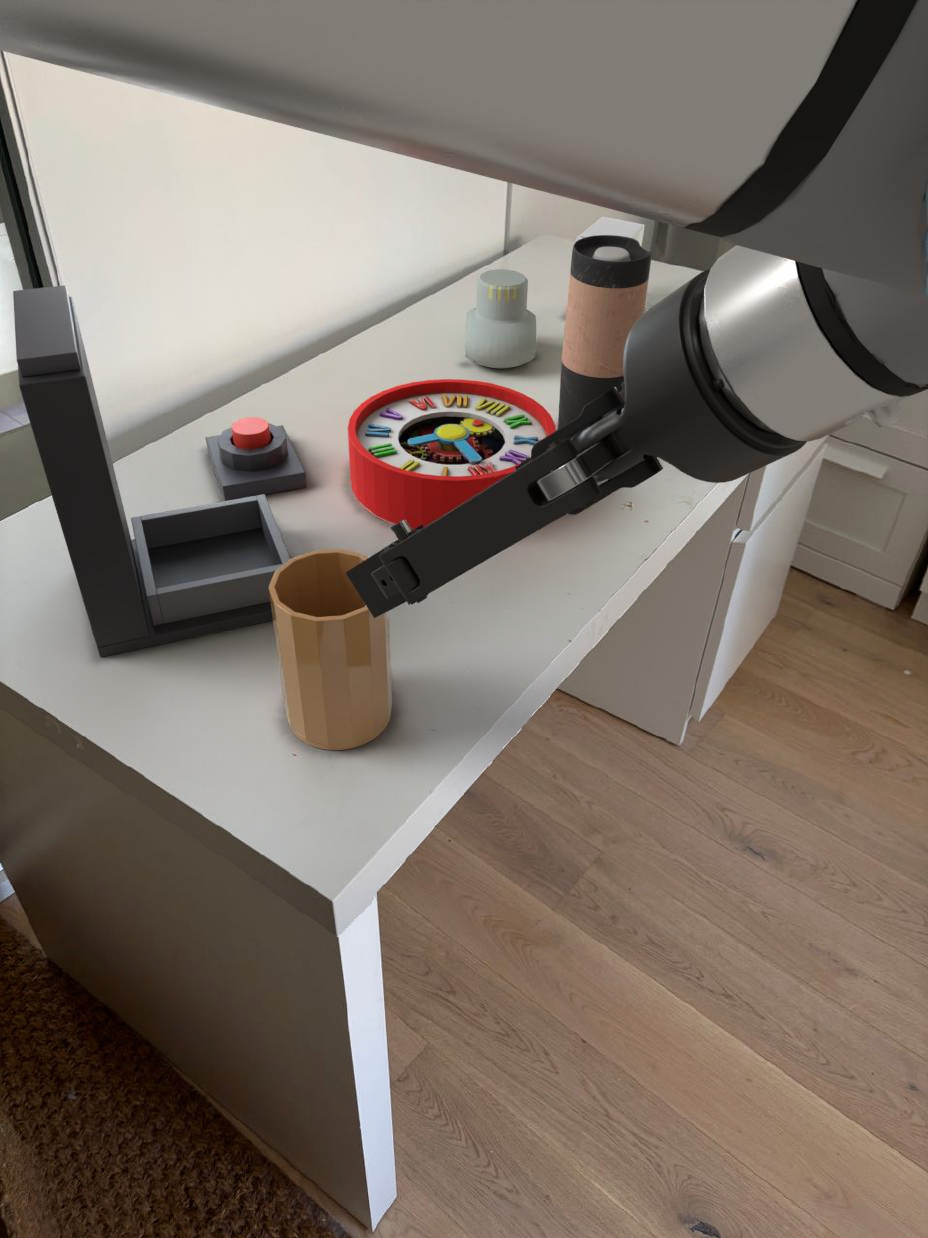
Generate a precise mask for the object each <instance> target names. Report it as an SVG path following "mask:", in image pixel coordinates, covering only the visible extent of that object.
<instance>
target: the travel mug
mask: <svg viewBox="0 0 928 1238" xmlns="http://www.w3.org/2000/svg"><path fill="white" fill-rule="evenodd" d="M571 251H572V252H571V261H570V271H569V281H568V291H567V301H566V312H565V313H566V314H565V321H564V322H565V323H564V332H563V334H564V335H563V343H562V352H561V362H560V364H561V365H560V366H561V367H560V380H559V381H560V383H559V401H558V417H557V419H558V420H557V423H558V424H557V430H558V429H559V428H561V427H563V426H564V425H566V424H567V423H569V422H571V421H572V420H574V419H575V418H577V417H578V416H579V415H580V414H581V411H582V409H583V407H584V406H585V405H586V404H588V403H589V402H591V401H592V400H594V399H596V398H597V397H599V396H600V395H602V394H604V393H605V392H607V391H608V390H610V389H612V388H613V387H616V388H617V390H618V392H620V391H622V386H621V383H623V382H624V376H623V355H624V349H625V344H626V341H627V337H628V335H629V333H630V331H631V329H632V327H633V325H634V324H635V322H636V321H637V320H638V319H639V318H640V317H641V315H643V314H644V313H645V309H646V303H647V295H648V288H649V279H650V272H651V265H652V257H653V249H652V248H651V249H650V250H646V249H645V248H644V247H642V245H641V246H640V243H639V242H638V241H637V240H635V239H633V238H629V237H624V236H615V235H597V236H590V237H585V238H582V239H580V240H578V241H577V242H575V241H574V244H573V246H572V250H571Z"/></svg>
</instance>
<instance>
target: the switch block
mask: <svg viewBox="0 0 928 1238" xmlns="http://www.w3.org/2000/svg"><path fill="white" fill-rule="evenodd" d="M268 423H269V429H270V437H271V441H270V443H269V444H268V445H266V446H264V447H262V448H256V449H243V448H238V447H236V446H235V445H234V441H233V435H232V426H231V427H229V428H227V429H224V430H222V432H221V433H220V434H218V435H212V436H211V435H210V436H206V437H205V442H206V443H205V444H206V448H207V452H208V456H209V459H210V462H211V465H212V467H213V471H214V474H215V477H216V479H217V482H218V486H219V488H220V492H221V494H222V497H223V500H224V501H229V500H234V499H240V498H246V497H251V496H257V495H262V494H265V495H269V494H274V493H281V492H286V491H292V490H297V489H304V488H307V486H308V485H307V477H306V476H307V474H306V471H305V469H304V466H303V465H302V463H301V460H300V458H299V456H298V454H297V451H296V450H295V448H294V446H293V444H292V441H291V440H290V437H289V435H288V434H287V430H286V428H285V427H284V425H283V424H281V425H275V424H273V423H270V422H268Z"/></svg>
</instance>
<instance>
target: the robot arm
mask: <svg viewBox="0 0 928 1238" xmlns="http://www.w3.org/2000/svg"><path fill="white" fill-rule="evenodd" d="M0 51H1V52H5V53H8V54H12V55H16V56H20V57H24V58H28V59H32V60H35V61H39V62H44V63H47V64H51V65H55V66H59V67H63V68H66V69H70V70H74V71H79V72H82V73H85V74H89V75H93V76H98V77H100V78H106V79H109V80H111V81H117V82H121V83H124V84H127V85H132V86H135V87H139V88H144V89H148V90H151V91H155V92H159V93H163V94H167V95H171V96H175V97H178V98H183V99H185V100H189V101H194V102H198V103H202V104H205V105H209V106H213V107H217V108H221V109H225V110H227V111H228V110H229V111H232V112H236V113H240V114H244V115H247V116H251V117H255V118H259V119H262V120H267V121H271V122H274V123H278V124H282V125H286V126H289V127H293V128H296V129H301V130H305V131H309V132H313V133H317V134H320V135H324V136H329V137H332V138H336V139H340V140H343V141H347V142H350V143H351V142H352V143H355V144H358V145H363V146H367V147H370V148H374V149H377V150H381V151H385V152H388V153H389V152H390V153H393V154H397V155H401V156H404V157H409V158H411V159H412V158H413V159H416V160H421V161H424V162H428V163H432V164H436V165H440V166H443V167H448V168H451V169H455V170H459V171H463V172H466V173H471V174H474V175H478V176H482V177H485V178H489V179H493V180H496V181H497V180H498V181H501V182H504V183H508V184H512V185H516V186H521V187H523V188H528V189H532V190H535V191H540V192H543V193H548V194H551V195H554V196H559V197H563V198H567V199H571V200H574V201H578V202H582V203H586V204H590V205H594V206H597V207H601V208H605V209H608V210H613V211H617V212H619V213H624V214H627V215H632V216H635V217H640V218H643V219H646V220H647V219H648V220H651V221H654V222H659V223H662V224H666V225H670V226H675V227H677V228H681V229H684V230H685V229H686V230H689V231H693V232H697V233H701V234H705V235H708V236H711V237H714V238H716V239H719V240H721V241H724V242H727V243H729V244H732V245H734V246H733V247H732V248H730V249H729V250H728V251H726V252H724V253H723V254H722V255H721V256H719V257H718V258H717V259H716V261H715V262H714V263H713V265H712V266H711V268H710V269H709V268H708V269H706V270H704V271H701V272H700V273H698V274H697V275H696V276H694V277H693V278H691V279H690V280H689V281H687V282H685V283H684V284H683V285H681V286H680V287H678V288H677V289H676V290H674V291H673V292H672V293H670V294H669V295H667V296H666V297H664V298H662V300H660V301H658V302H657V303H656V304H654V305H653V306H652V307H650V308H649V309H648V310H646V311H644V314H643V315H641V317H640V318H639V319H638V320H637V321H636V322H635V324H634V325H633V327H632V329H631V331H630V333H629V335H628V337H627V341H626V344H625V349H624V355H623V376H624V382H623V383H621V386H622V391H620V392H618V390H617V388H616V387H613V388H612V389H610V390H608V391H607V392H605V393H604V394H602V395H600V396H599V397H597V398H596V399H594V400H592V401H591V402H589V403H588V404H586V405H585V406H584V407H583V409H582V411H581V414H580V415H579V416H578V417H577V418H575V419H574V420H572V421H571V422H569V423H567V424H566V425H564V426H563V427H561V428H559V429H558V428H557V429H556V431H555V432H553V433H552V434H550V435H548V436H547V437H545V438H544V439H542V440H540V441H539V442H537V443H536V444H535V445H534V446H533V448H532V450H531V457H530V458H529V459H527V460H526V461H524V462H522V463H521V464H519V465H518V466H516V467H515V468H516V470H515V471H514V472H512V473H510V474H509V475H507V476H506V477H504V478H502V479H501V480H499V481H498V482H496V483H494V484H493V485H491V486H489V487H488V488H486V489H485V490H483V491H481V492H480V493H478V494H477V495H475V496H473V497H472V498H470V499H469V500H467V501H465V502H464V503H462V504H461V505H459V506H457V507H456V508H454V509H453V510H451V511H449V512H448V513H446V514H445V515H443V516H441V517H440V518H438V519H437V520H435V521H433V522H432V523H430V524H429V525H427V526H425V527H423V525H420V526H419V527H417V528H415V529H414V530H412V529H411V528H410V526H409V524H408V523H407V521H406V520H405V519H404V520H402V521H400V522H399V523H397V524H395V525H391V527H390V529H391V531H392V532H393V534H394V535H395V537H396V539H395V541H393V542H391V543H389V544H388V545H387V546H385V547H383V548H382V549H380V550H379V551H377V552H375V553H374V554H372V555H371V556H369V557H368V559H366V560H365V561H363V562H361V563H360V564H358V565H357V566H355V567H353V568H352V569H350V570H349V571H347V572H345V573H346V574H347V576H348V578H349V579H350V581H351V582H352V584H353V585H354V587H355V589H356V590H357V592H358V593H359V595H360V596H361V598H362V600H363V601H364V603H365V604H366V606H367V608H368V609H369V611H370V612H371V614H372V615H373V617H374V618H376V617H378V616H380V615H382V614H384V613H385V612H387V611H389V612H390V611H391V610H394V609H395V608H397V607H399V606H401V605H403V604H405V603H406V604H408V605H411V606H412V605H414V604H416V603H417V604H420V603H421V602H423V601H425V600H426V599H427V598H428V596H429V594H431V593H433V592H434V591H436V590H438V589H439V588H441V587H443V586H445V585H446V584H448V583H449V582H451V581H453V580H455V579H457V578H459V577H460V576H463V574H465V573H467V572H469V571H470V570H472V569H474V568H476V567H477V566H479V565H481V564H483V563H484V562H486V561H488V560H489V559H491V558H493V557H494V556H496V555H498V554H500V553H502V552H503V551H505V550H507V549H508V548H511V547H512V546H514V545H515V544H517V543H519V542H520V541H522V540H524V539H526V538H528V537H529V536H531V535H533V534H534V533H536V532H537V531H540V530H541V529H543V528H545V527H546V526H548V525H550V524H551V523H553V522H555V521H557V520H559V519H561V518H563V517H565V516H567V515H569V516H574V515H579V514H580V513H582V512H583V511H586V510H587V509H589V508H590V507H592V506H593V505H595V504H597V503H599V502H600V501H602V500H604V499H605V498H607V497H609V496H610V495H612V494H614V493H615V492H617V491H618V490H621V489H623V488H626V489H632V488H635V487H637V486H640V484H642V483H644V482H646V481H647V480H649V479H650V478H652V477H653V476H655V475H657V474H658V473H660V472H661V471H662V470H664V467H663V465H662V463H661V461H660V460H662V461H663V462H666V463H667V464H669V465H671V466H672V467H674V468H675V469H676V470H678V471H680V472H681V473H683V474H684V475H686V476H689V477H690V478H693V479H696V480H698V481H701V482H705V483H711V484H723V483H729V482H733V481H735V480H739V479H741V478H743V477H744V476H747V475H749V474H751V473H753V472H755V471H758V470H760V469H761V468H764V467H766V466H768V465H771V464H772V463H774V462H777V461H780V460H781V459H784V458H785V457H787V456H790V455H792V454H794V453H796V452H798V451H799V450H800V449H802V448H803V447H804V446H805V445H806V444H807V443H808V442H812V441H816V440H820V439H823V438H825V437H827V436H829V435H832V434H834V433H836V432H838V431H840V430H842V429H844V428H846V427H848V426H852V425H853V424H855V423H856V422H858V421H859V420H860V419H862V417H864V415H865V414H866V413H867V414H868V415H869V417H870V419H871V421H872V422H873V423H874V425H875V426H876V427H877V428H887V427H889V426H892V425H894V424H895V423H896V422H897V421H898V420H899V419H900V418H901V417H902V415H903V410H902V408H901V405H900V403H899V402H902V401H903V400H906V399H907V398H909V397H911V396H913V395H917V394H919V393H922V392H925V391H927V390H928V0H0ZM659 459H660V460H659ZM600 482H601V483H600ZM598 483H600V484H599V485H598Z"/></svg>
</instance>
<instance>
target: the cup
mask: <svg viewBox="0 0 928 1238" xmlns="http://www.w3.org/2000/svg"><path fill="white" fill-rule="evenodd" d="M368 558H369V557H368V556H367V555H365V554H363V553H359V552H355V551H351V550H345V549H341V548H335V549H333V548H332V549H318V550H312V551H309V552H306V553H303V554H300V555H298V556H295V557H292V558H290V560H289V561H287V562H286V563H285V564H284V565H282V566H281V567H280V568H279V569H277V570H276V571H275V572H274V575H273V577H272V580H271V582H270V585H269V595H270V603H271V610H272V617H273V620H272V623H273V631H274V638H275V644H276V653H277V659H278V667H279V673H280V674H279V675H280V680H281V687H282V695H283V703H284V709H285V714H286V717H287V722H288V726H289V728H290V730H291V731H292V733H293V734H294V736H296V737H297V738H298V739H299V740H300V741H302V742H303V743H305V744H307V745H309V746H311V747H312V748H313V747H314V748H317V749H319V750H320V749H322V750H327V751H344V750H351V749H354V748H358V747H361V746H363V745H366V744H368V743H370V742H371V741H373V740H374V739H376V738H377V737H378V736H379V735H381V734H382V733H383V732H384V731H385V729H386V728H387V726H388V725H389V722H390V720H391V717H392V708H393V707H392V706H393V688H392V687H393V683H392V661H391V660H392V657H391V639H390V638H391V633H390V610H389V611H387V612H385V613H384V614H382V615H380V616H378V617H376V618H374V617H373V615H372V614H371V612H370V611H369V609H368V608H367V606H366V604H365V603H364V601H363V600H362V598H361V596H360V595H359V593H358V592H357V590H356V589H355V587H354V585H353V584H352V582H351V581H350V579H349V578H348V576H347V574H346V573H345V572H347V571H349V570H350V569H352V568H353V567H355V566H357V565H358V564H360V563H361V562H363V561H365V560H366V559H368Z"/></svg>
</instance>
